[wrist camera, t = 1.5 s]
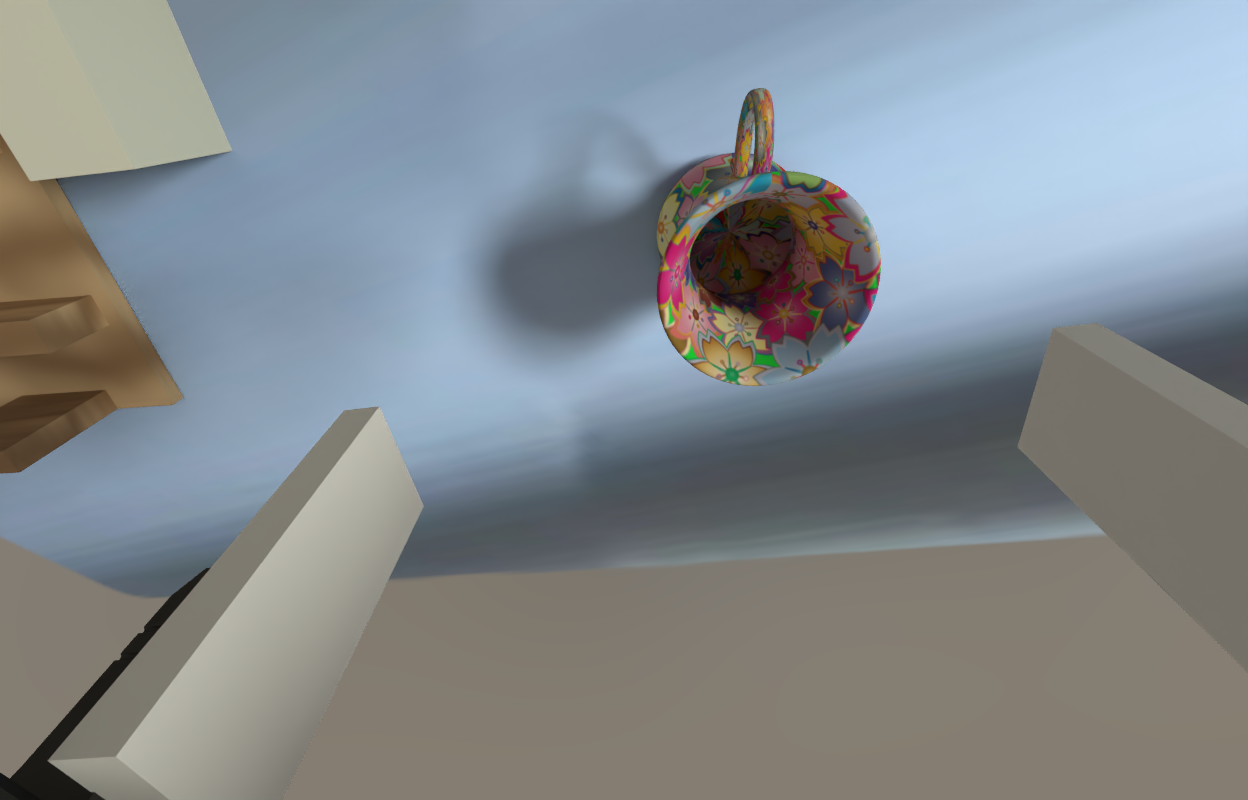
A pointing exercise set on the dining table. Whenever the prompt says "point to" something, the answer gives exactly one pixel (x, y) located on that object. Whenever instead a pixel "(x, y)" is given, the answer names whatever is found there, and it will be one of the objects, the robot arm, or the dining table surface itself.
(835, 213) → the mug
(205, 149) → the block
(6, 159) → the rack
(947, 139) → the dining table surface
